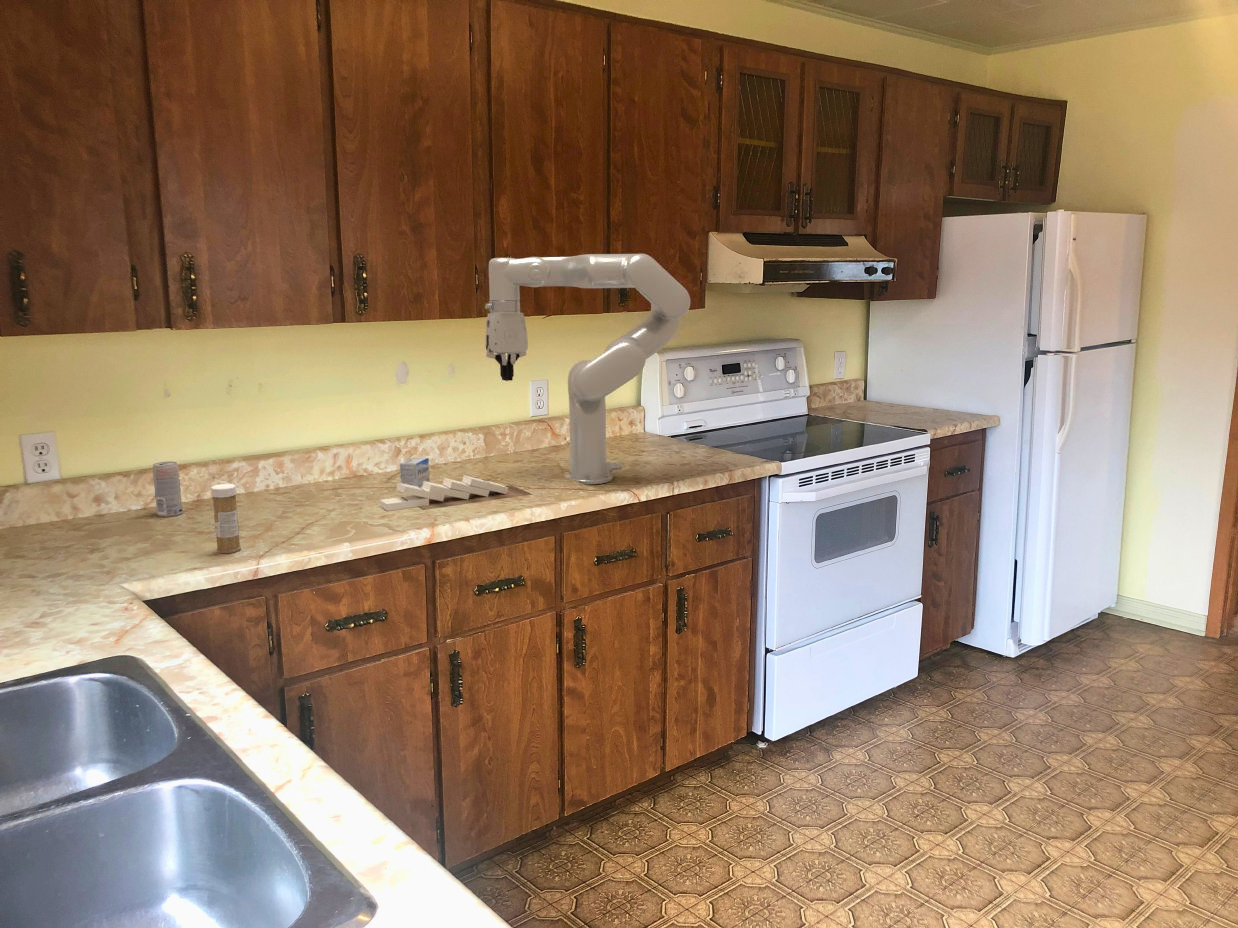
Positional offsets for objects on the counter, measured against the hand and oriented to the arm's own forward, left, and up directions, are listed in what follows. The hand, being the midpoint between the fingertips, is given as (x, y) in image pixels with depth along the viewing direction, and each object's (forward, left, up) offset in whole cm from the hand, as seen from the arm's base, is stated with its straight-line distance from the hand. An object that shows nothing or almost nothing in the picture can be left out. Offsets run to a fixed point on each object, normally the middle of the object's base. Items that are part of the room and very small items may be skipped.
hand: (507, 380), depth 247 cm
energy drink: (+80, -14, -27) cm, 86 cm away
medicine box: (+25, -2, -27) cm, 37 cm away
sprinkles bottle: (+74, +25, -27) cm, 83 cm away
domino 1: (+28, +13, -25) cm, 40 cm away
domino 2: (+24, +13, -25) cm, 37 cm away
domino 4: (+13, +13, -25) cm, 31 cm away
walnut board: (+17, +13, -27) cm, 34 cm away
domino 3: (+18, +13, -25) cm, 34 cm away
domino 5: (+8, +13, -25) cm, 29 cm away
